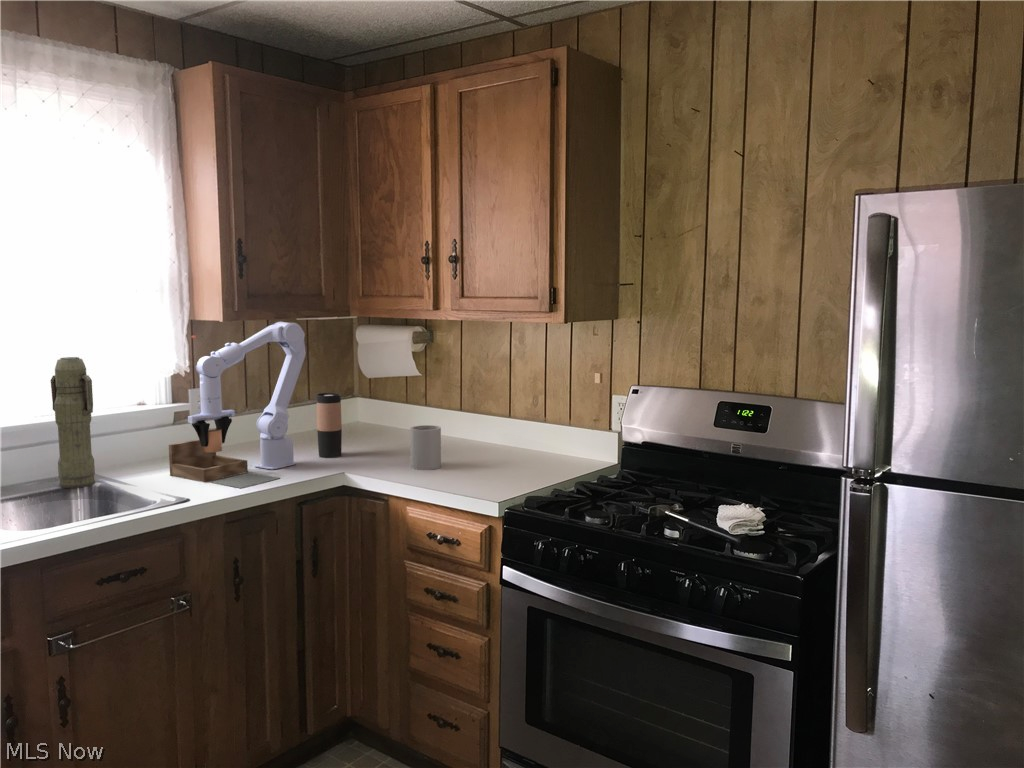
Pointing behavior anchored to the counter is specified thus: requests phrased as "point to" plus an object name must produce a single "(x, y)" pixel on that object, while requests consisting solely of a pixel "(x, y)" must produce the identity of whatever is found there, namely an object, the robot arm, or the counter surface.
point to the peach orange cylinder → (214, 440)
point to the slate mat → (246, 480)
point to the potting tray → (202, 463)
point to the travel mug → (329, 425)
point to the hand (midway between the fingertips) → (213, 444)
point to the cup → (425, 447)
